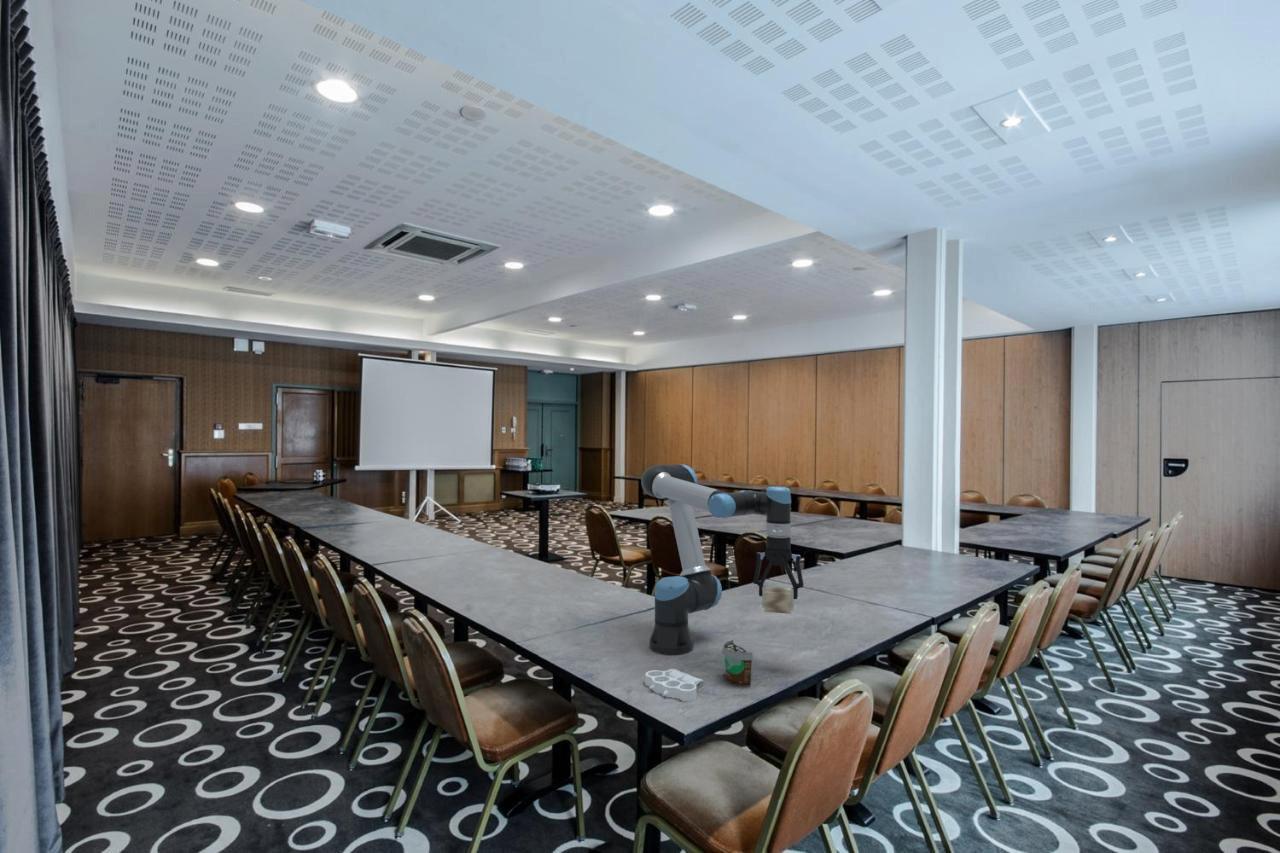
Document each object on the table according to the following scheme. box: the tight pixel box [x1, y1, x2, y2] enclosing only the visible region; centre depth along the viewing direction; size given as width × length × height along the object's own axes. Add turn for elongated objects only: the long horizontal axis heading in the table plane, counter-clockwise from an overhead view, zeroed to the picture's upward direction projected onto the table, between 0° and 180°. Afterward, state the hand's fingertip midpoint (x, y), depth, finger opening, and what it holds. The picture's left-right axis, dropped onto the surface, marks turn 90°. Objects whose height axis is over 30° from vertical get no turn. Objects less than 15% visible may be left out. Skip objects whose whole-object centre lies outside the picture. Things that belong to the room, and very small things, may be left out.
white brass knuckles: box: [644, 668, 706, 702], centre depth 176 cm, size 3×18×15 cm
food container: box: [721, 639, 754, 687], centre depth 183 cm, size 12×6×10 cm, turn 21°
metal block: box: [763, 586, 792, 615], centre depth 192 cm, size 8×8×6 cm
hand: (778, 607), depth 193 cm, fingers closed on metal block, 8 cm apart
